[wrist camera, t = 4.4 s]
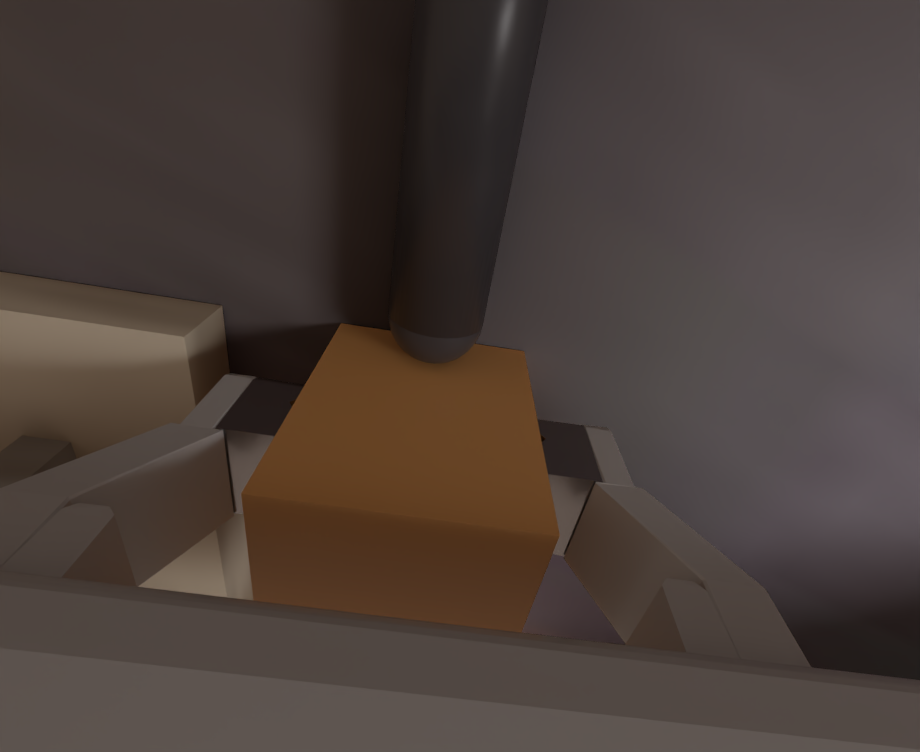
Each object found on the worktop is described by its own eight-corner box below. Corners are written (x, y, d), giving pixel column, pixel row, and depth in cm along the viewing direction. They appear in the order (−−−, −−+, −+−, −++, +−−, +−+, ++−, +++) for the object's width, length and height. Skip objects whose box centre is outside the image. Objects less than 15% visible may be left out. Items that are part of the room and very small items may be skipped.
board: (-343, 218, 9) (-825, 290, 6) (222, 305, 10) (87, 417, 6) (0, 700, 19) (-104, 832, 16) (270, 728, 20) (227, 861, 16)
